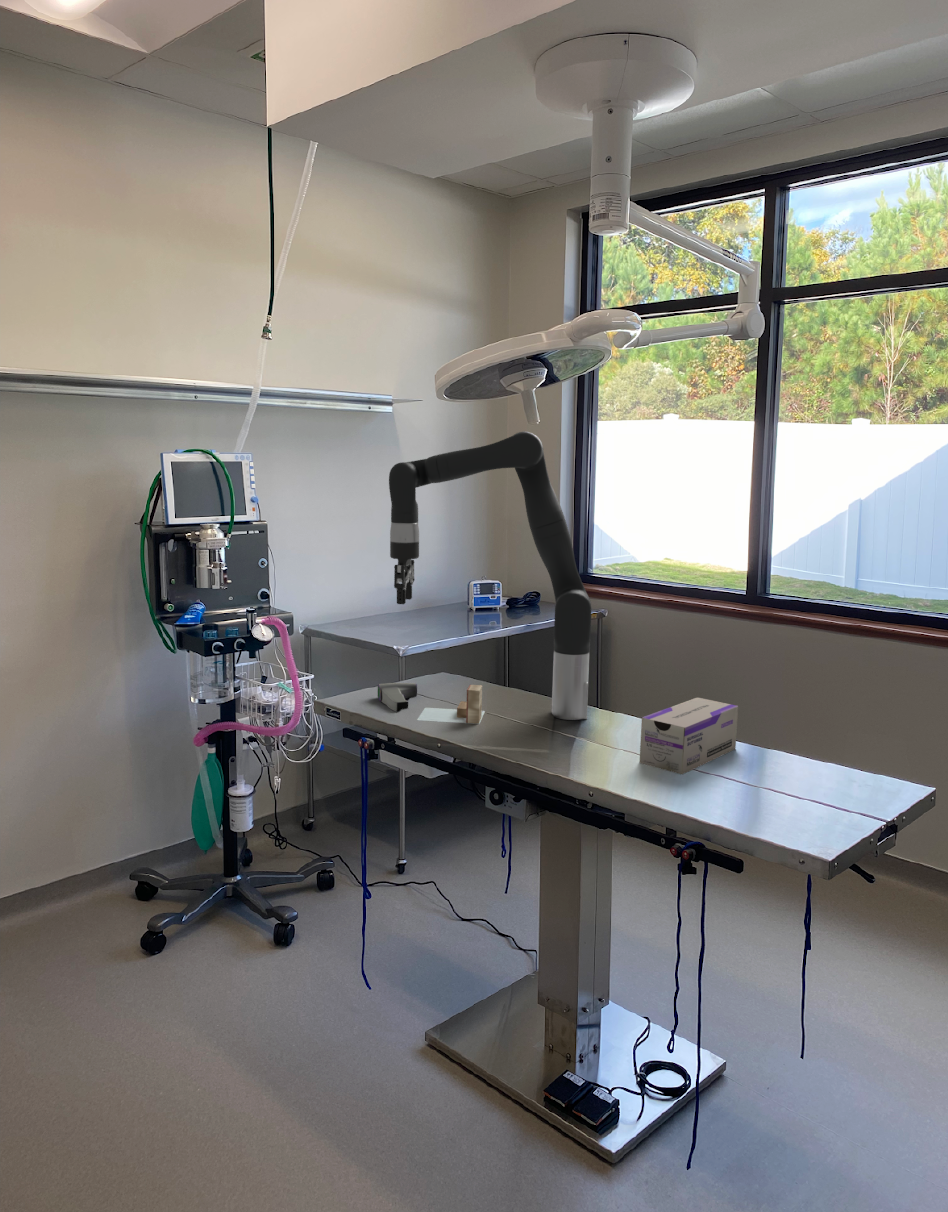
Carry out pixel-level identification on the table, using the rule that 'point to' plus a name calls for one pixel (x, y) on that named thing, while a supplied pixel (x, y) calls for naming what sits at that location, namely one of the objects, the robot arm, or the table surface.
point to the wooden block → (474, 704)
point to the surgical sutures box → (688, 735)
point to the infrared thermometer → (396, 694)
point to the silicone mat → (442, 715)
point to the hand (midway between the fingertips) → (404, 601)
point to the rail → (462, 709)
